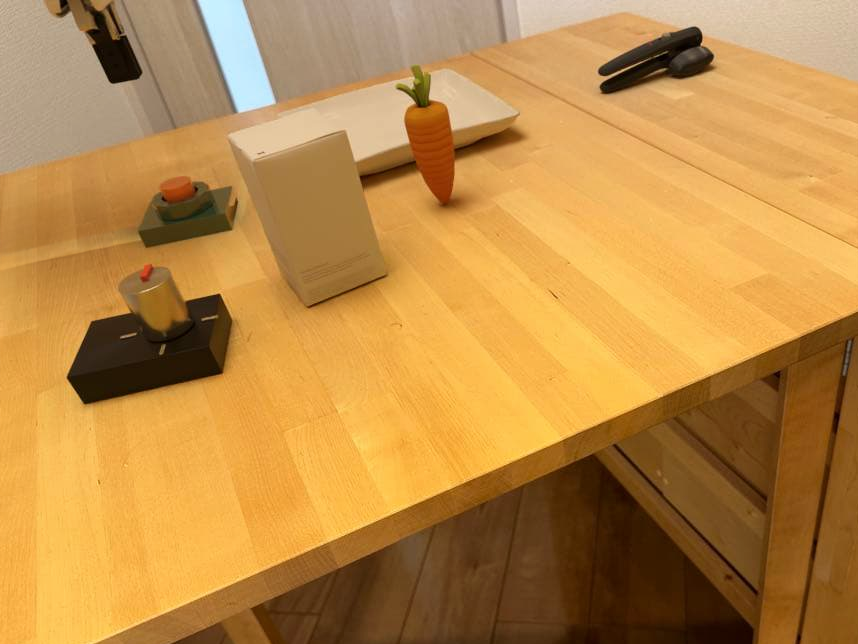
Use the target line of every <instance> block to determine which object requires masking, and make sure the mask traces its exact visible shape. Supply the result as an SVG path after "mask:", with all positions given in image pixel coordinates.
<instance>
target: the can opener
mask: <svg viewBox="0 0 858 644" xmlns="http://www.w3.org/2000/svg"><path fill="white" fill-rule="evenodd" d="M703 36H704V35H703V32H702V30H701V29H700V27H698V26H695V25H694V26H690V27H689V26H688V27H686V28H683V29H680V30H677V31H669V32H663V33H662V34H661V37H658V38H655V39H653V40H649V41H647V42H645V43H642V44H641V45H638V46H636V47H634V48H632V49H630V50H628V51H625V52H624V53H622V54H620V55H617V56H616V57H614V58H613V59H611V60H609V61H607V62H606V63H604V64H602V65H601V66H600V67H598V70H597V74H598V75H599V76H600V77H608V76H611V77H609V78H607V79H605V80H603V81H602V82H601V83H600V84H599V87H598V88H599V90H600V91H602V92H603V93H611V92H614V91H617V90H621V89H623V88H626V87H628V86H631V85H632V84H634V83H636V82H638V81H640V80H642V79H644V78H645V77H647V76H649V75H651V74H654V73H655V72H658V71H660V70H664V69H667V70H668V72H669V73H671V74H674V75H677V76H680V77H688V76H691V75H694V74H696V73H698V72H700V71H702V70H704V69H705V68H707V67H708V66H709V65H710V64H711V63H712V62H713V61H714V59H715V55H714V53H713V52H712V50H710V49H709V48H708V47H707V46H705V45H702V43H703V38H704V37H703ZM620 71H621V72H620ZM618 72H619V73H618ZM615 73H617V74H615ZM613 74H615V75H613ZM612 75H613V76H612Z"/></svg>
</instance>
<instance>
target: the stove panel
mask: <svg viewBox="0 0 858 644" xmlns="http://www.w3.org/2000/svg"><path fill="white" fill-rule="evenodd" d="M185 301H186V303H187V305H188V307H189V309H190V311H191V313H192V315H193V317H194V323H193V325H192V327H191V328H190V329H189V330H188V331H186V332H185V333H183V334H182V335H180V336H178V337H176V338H173V339H170V340H166V341H161V342H153V341H149V340H147V339H146V338H145V337H144V335H143V333H142V331H141V330H140V328H139V326H138V324H137V323H136V321H135V319H134V317H133V315H132V314H131V312H127V313H123V314H117V315H114V316H113V315H112V316H110V317H105V318H99V319H96V320H91V321H90V324H89V326H88V327H87V330H86V333H85V335H84V336H83V339H82V341H81V343H80V346H79V348H78V350H77V352H76V355H75V357H74V359H73V361H72V363H71V365H70V368H69V371H68V373H67V375H66V380H67V381H68V383H69V384H70V386H71V387H72V389H73V390H74V391H75V393H76V395H77V396H78V398H79V399H80V400H81V402H82V403H83V405H86V404H90V403H95V402H100V401H105V400H108V399H112V398H118V397H121V396H126V395H131V394H136V393H140V392H143V391H149V390H152V389H157V388H163V387H166V386H171V385H175V384H176V385H177V384H180V383H185V382H189V381H193V380H197V379H201V378H202V379H203V378H207V377H211V376H216V375H220V374H223V371H224V365H225V361H226V360H225V359H226V356H227V355H226V354H227V349H228V343H229V338H230V332H231V327H232V321H233V318H232V316H231V314H230V311H229V310H228V307H227V305H226V302H225V301H224V298H223V297H222V294H221V293H215V294H212V295H211V294H210V295H206V296H202V297H197V298H193V299H188V300H185Z"/></svg>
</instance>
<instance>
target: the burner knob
mask: <svg viewBox="0 0 858 644" xmlns="http://www.w3.org/2000/svg"><path fill="white" fill-rule="evenodd" d="M172 273H173V272H172V271H171V269H169V268H167V267H166V266H153V265H152V263H149V264H144V266H143V268H142V269H139V270H137V271H134V272H132V273H130V274H129V275H127V276H126V277H125V278H123V279H122V280H121V281H120V282H119V283H118V286H117V291H118V292H119V294H120V296H121V298H122V299H123V301H124V304H125V305H126V307H127V308H128V310H129V313H131V314H132V315H133V317H134V319H135V321H136V323H137V324H138V326H139V328H140V330H141V331H142V333H143V335H144V337H145V338H146V339H147V340H149V341H153V342H161V341H166V340H170V339H173V338H176V337H178V336H180V335H182V334H183V333H185V332H186V331H188V330H189V329H190V328H191V327H192V325H193V323H194V317H193V315H192V313H191V311H190V309H189V307H188V305H187V303H186V301H187V300H186V299H185V297H184V294H183V293H182V291H181V290H180V287H179V285H178V284H177V281H176V279H175V278H174V275H173V274H172Z"/></svg>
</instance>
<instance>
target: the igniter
mask: <svg viewBox="0 0 858 644" xmlns="http://www.w3.org/2000/svg"><path fill="white" fill-rule="evenodd" d="M192 183H193V185H194V187H195V190H196V193H195V194H194V195H192V196H191V197H188V198H186V199H184V200H180V201H175V202H166V201H165V199H164V197H163V195H162V193H161V191H159V192H158V193H156V194H154V195H153V196H152V198H151V201H150V202H149V204H148V206H147V208H146V211H145V213H144V216H143V218H142V221H141V223H140V225H139V227H138V229H137V233H138V235H139V237H140V239H141V241H142V243H143V245H144V247H145V248H146V249H148V248H152V247H157V246H162V245H167V244H172V243H176V242H177V243H178V242H182V241H186V240H191V239H196V238H201V237H205V236H206V237H207V236H210V235H215V234H220V233H225V232H229V231H232V230H233V227H234V224H235V218H236V214H237V209H238V205H239V201H238V198H237V197H235V199H234V203H233V204H234V205H229V204H230V199H231V195H232V192H233V186H232V185H229V186H225V187H220V188H215V189H211V188H210V185H209V184H207V182H206V183H205V182H204V181H192Z"/></svg>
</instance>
